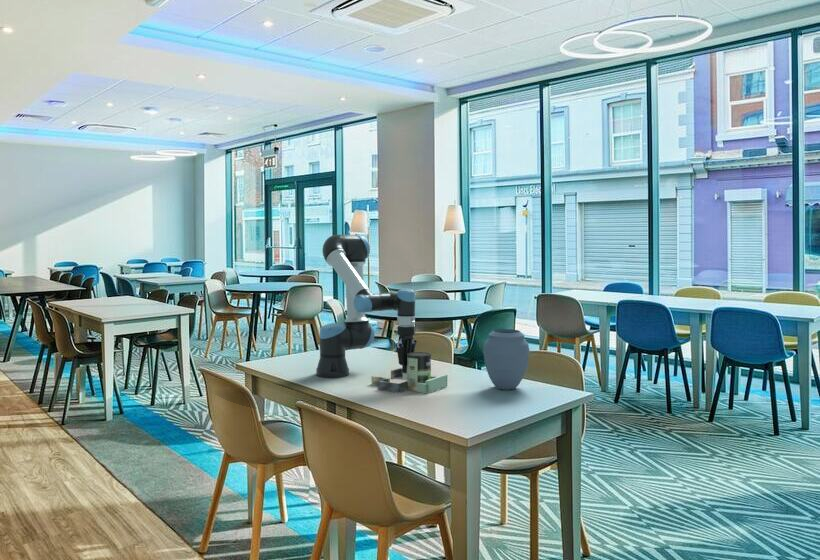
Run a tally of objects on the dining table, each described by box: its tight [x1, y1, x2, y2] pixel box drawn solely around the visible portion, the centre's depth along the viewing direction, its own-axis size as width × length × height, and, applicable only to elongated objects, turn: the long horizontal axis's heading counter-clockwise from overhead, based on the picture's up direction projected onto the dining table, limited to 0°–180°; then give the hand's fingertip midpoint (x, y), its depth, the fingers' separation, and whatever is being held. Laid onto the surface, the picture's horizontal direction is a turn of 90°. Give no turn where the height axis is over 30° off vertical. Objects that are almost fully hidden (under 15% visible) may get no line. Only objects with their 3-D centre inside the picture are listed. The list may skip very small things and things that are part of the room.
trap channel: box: [371, 367, 437, 394], centre depth 284 cm, size 24×28×4 cm
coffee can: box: [407, 351, 432, 384], centre depth 280 cm, size 10×10×14 cm
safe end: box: [418, 374, 448, 394], centre depth 276 cm, size 5×15×5 cm, turn 146°
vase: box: [482, 328, 530, 391], centre depth 277 cm, size 20×20×24 cm
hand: (406, 379), depth 283 cm, fingers closed
